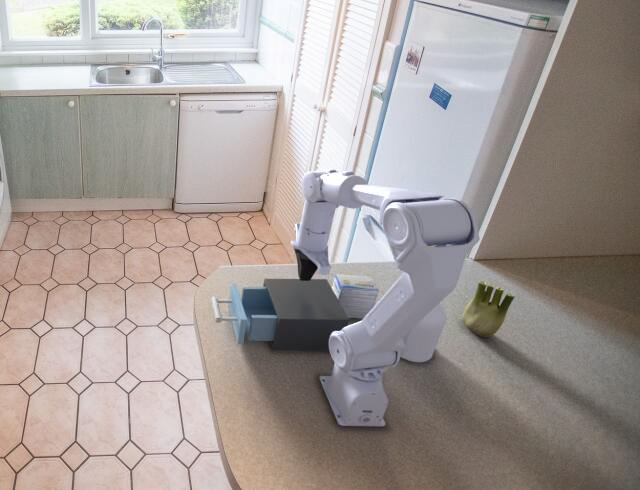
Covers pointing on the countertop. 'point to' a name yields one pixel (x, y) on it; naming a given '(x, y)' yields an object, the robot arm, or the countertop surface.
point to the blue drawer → (249, 313)
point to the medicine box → (355, 294)
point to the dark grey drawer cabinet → (304, 314)
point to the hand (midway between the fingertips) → (304, 278)
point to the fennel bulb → (486, 310)
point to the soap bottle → (424, 336)
